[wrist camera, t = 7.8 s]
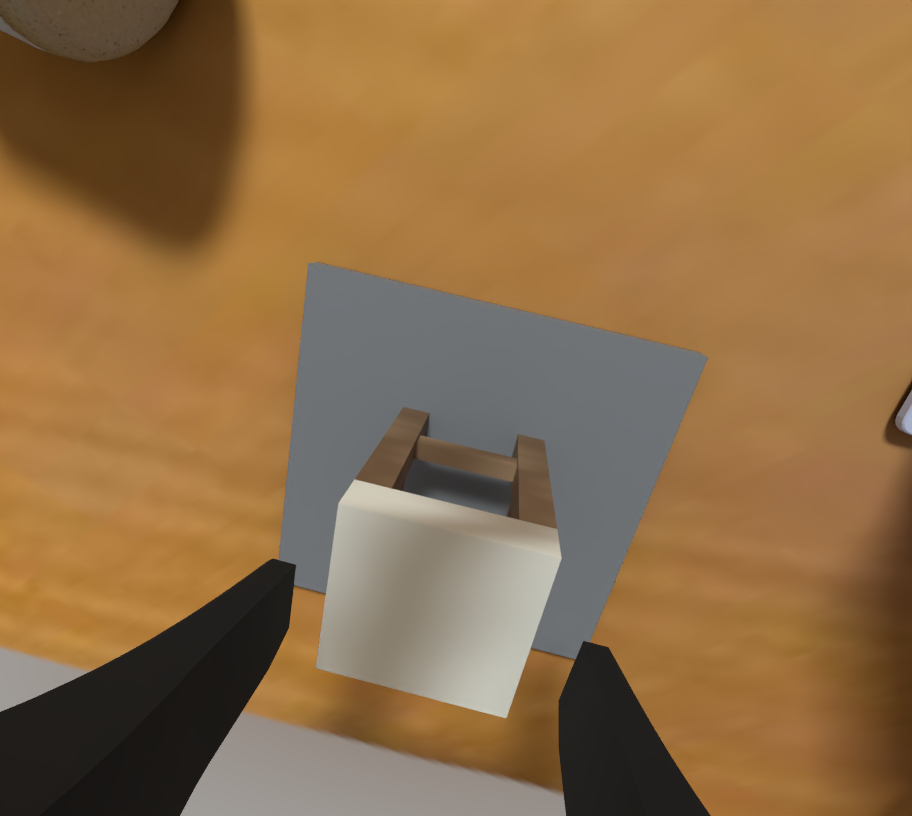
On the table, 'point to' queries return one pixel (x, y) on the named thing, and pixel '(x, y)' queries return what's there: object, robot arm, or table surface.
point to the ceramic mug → (85, 25)
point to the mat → (482, 422)
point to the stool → (439, 573)
